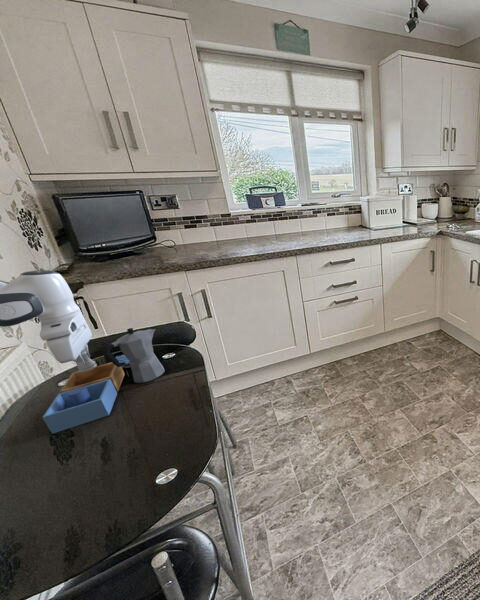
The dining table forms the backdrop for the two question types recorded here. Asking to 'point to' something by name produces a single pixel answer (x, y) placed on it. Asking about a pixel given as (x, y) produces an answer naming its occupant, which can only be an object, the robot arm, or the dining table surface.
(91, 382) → the oak bin
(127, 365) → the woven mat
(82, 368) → the rook chess piece
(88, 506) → the dining table surface
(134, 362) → the coffeepot
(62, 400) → the blue bin
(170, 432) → the dining table surface
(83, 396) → the blue peg
